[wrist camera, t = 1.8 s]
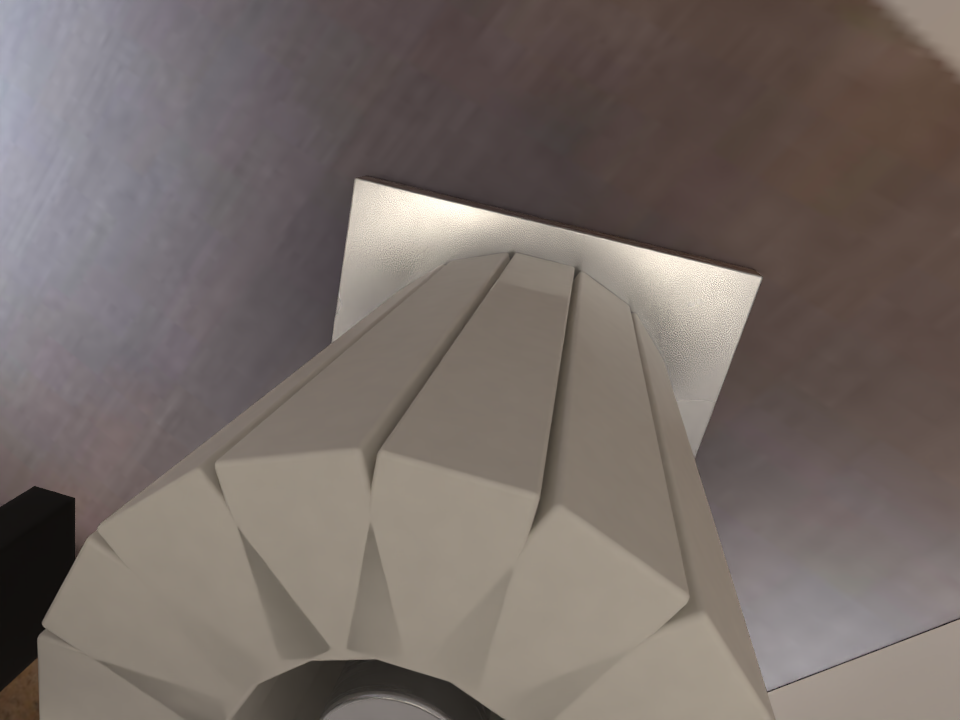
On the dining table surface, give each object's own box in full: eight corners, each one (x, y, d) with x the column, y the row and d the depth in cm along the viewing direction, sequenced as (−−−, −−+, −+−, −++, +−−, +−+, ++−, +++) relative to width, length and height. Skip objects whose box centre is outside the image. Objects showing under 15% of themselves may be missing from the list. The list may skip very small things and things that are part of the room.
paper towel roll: (381, 218, 19) (26, 352, 7) (716, 301, 19) (945, 608, 6) (336, 501, 23) (43, 912, 11) (616, 582, 22) (643, 1125, 10)
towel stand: (365, 174, 20) (-21, 237, 8) (755, 269, 19) (1069, 525, 6) (316, 503, 24) (16, 898, 12) (635, 595, 23) (684, 1135, 11)
